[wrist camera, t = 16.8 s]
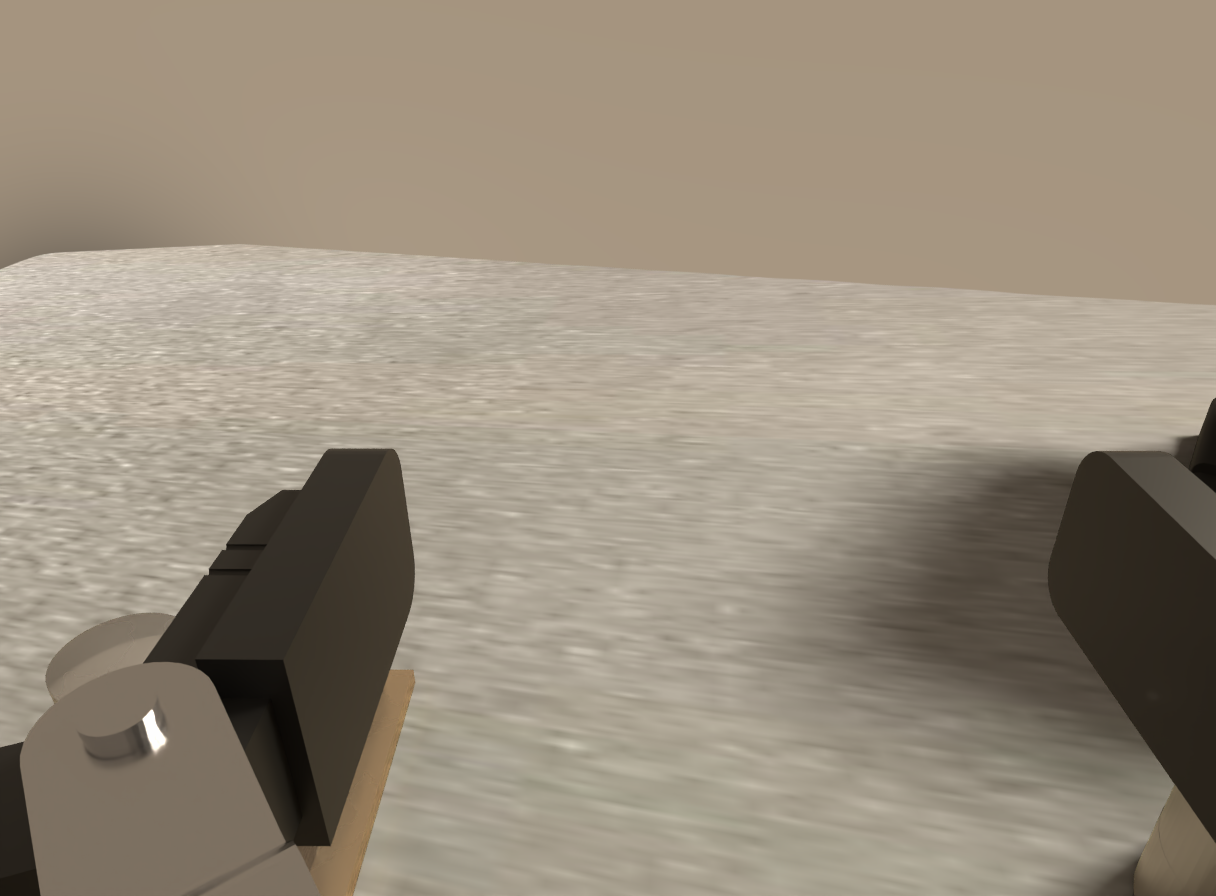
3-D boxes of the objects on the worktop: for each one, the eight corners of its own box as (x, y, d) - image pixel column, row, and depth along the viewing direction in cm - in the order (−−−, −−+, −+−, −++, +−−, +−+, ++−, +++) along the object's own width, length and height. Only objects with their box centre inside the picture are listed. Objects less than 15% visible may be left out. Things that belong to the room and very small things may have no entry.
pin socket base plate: (221, 681, 52) (203, 623, 50) (415, 682, 52) (406, 624, 50) (-186, 1392, 26) (-261, 1337, 24) (204, 1399, 26) (165, 1344, 23)
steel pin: (234, 839, 41) (157, 596, 34) (286, 901, 39) (216, 651, 31) (132, 911, 38) (25, 659, 31) (182, 984, 35) (76, 726, 28)
